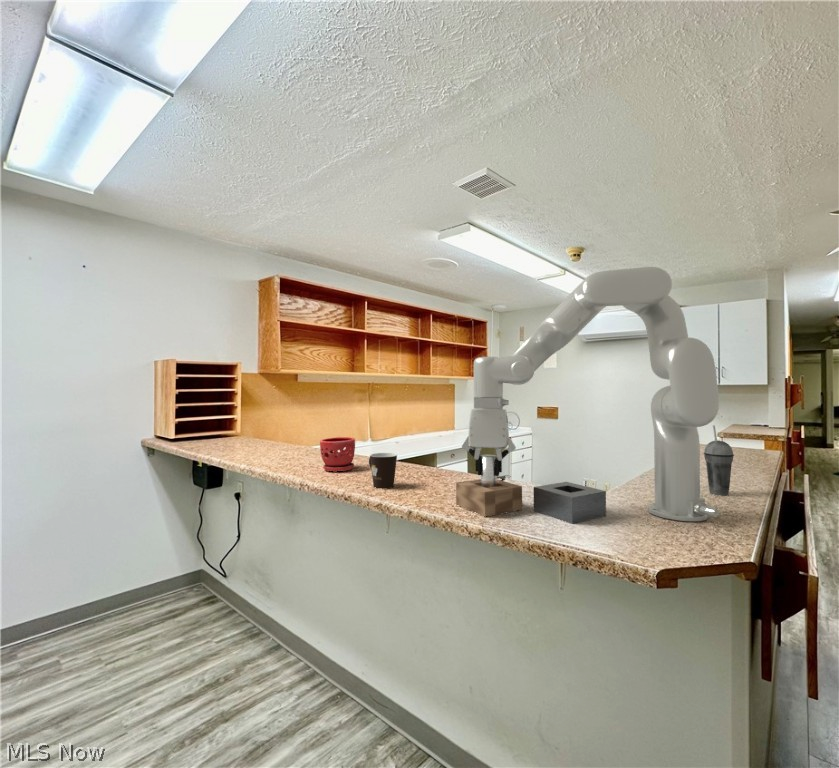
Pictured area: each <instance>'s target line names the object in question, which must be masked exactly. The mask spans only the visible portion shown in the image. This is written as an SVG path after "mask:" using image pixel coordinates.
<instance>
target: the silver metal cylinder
mask: <svg viewBox="0 0 839 768" xmlns="http://www.w3.org/2000/svg"><path fill="white" fill-rule="evenodd" d="M480 456H481V475H480V479H481V486H482V487H485V488H490V487H496V486H497V479H498V478H497V476H496V459H497V454H480Z"/></svg>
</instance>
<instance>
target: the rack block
mask: <svg viewBox="0 0 839 768" xmlns="http://www.w3.org/2000/svg"><path fill="white" fill-rule="evenodd" d="M455 485H456V486H455V489H456V490H455V491H456V492H455V493H456V495H455V496H456V497H455V501H456V506H457V505H459V506H461V507H460V508H462V507H463V508H462V509H464V508H466V509H468V510H467V511H469V510H471V511H473V512H472V513H474V512H476V513H478V514H480V515H479V516H481V515H482V516H481V517H483V516H485V517H484V518H487V517H486V516H489V517H493V516H492V515H494V516H497V514H499V515H502V514H501V513H504V514H507V513H506V512H509V513H512V512H511V511H514V512H518V511H517V510H519V511H523V485H520V484H519V485H518V484H515V483H511V482H509V481H504V480H503V481H501V480H499V478H497V486H496V487H490V488H485V487H482V486H481V478H480V479H474V480H473V479H472V480H466V481H465V480H464V481H458V482H455ZM459 506H458V507H459ZM466 509H465V510H466ZM471 511H470V512H471ZM476 513H475V514H476ZM478 514H477V515H478Z"/></svg>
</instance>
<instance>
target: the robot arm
mask: <svg viewBox="0 0 839 768" xmlns="http://www.w3.org/2000/svg"><path fill="white" fill-rule="evenodd" d="M672 287H673V280H672V277H671V276H670V274H669V273H668V272H667V271H666V270H665V269H663V268H661V267H657V266H642V267H633V268H621V269H610V270H601V271H597V272H593V273H591V274H589V275H587V276H586V277H585V278H584V280H582V281H581V282H580V283H579V284H578V285H577V286H576V287H575V288H574V289H573V290H572V291H571V293H569V294H568V296H566V298H565V299H564V300H562V301H561V302H560V304H558V306H557V307H555V308H554V309H553V310H552V312H551V313H549V314H548V316H547V317H545V319H543V321H542V322H541V323H540V325H538V327H537V328H536V329H535V331H534V332H533V333H532V334H531V335H530V337H529V338H528V339H526V341H525V342H524V343H523V344H522V345H521V346H520V347H519V348H518V349H517V350H516V351H515V352H514V353H513V354H512V355H509V356H501V357H498V356H479V357H476V358H475V359H474V361H473V409H472V408H471V410H470V415H469V424H468V425H469V426H468V436H467V437H466V439H465V440H464V441H463V444H462V445H461V447H462V449H463V450H465V451H466V452H468V453H469V454H470V455H471V456H472V457H473V458H474V460H475V472H477V476H481V455H482V449H495V453H496V476H500V473H502V472H503V464H502V463H503V459H504V458H505V457H506V456H507V455H508V454H510V453H512V452H514V451H515V450H516V445H515V444H514V442H513V440H512V438H511V437H510V436H509V431H510V430H509V420H508V413H507V410H506V409H504V407H505V406H509V403H510V402H509V399H505V398H504V385H503V384H511V385H514V386H515V385H517V386H518V385H519V386H520V385H525V384H526V383H527V384H528V382H530V381H531V380H532V378H533V377H534V375H535V372H536V371H537V370H538V369H539V368H540V367H541V366H542V365H543V364H544V363H545V362H546V361H547V360H548V359H549V358H551V356H553V355H554V354H556V353H557V352H558V351H560V350H561V349H563V348H565V347H566V346H567V345H568V344H569V343H570V342H571V341H572V340H574V339H575V337H576V336H577V335H578V334H579V333H580V332H581V331H582V330H584V329H585V327H586V326H588V324H589V323H591V322H592V320H593V319H595V317H596V316H597V315H598V314H599V313H600V312H601V311H603V310H604V309H606V307H621V306H622V307H623V308H624V309H626V310H628V311H630V312H632V313H634V314H636V315H637V316H638V317H640V319H641V320H642V322H643V323H644V326H645V331H646V334H647V342H648V351H649V362H650V366H651V370H652V373H654V375H656V377H658V378H660V379H664V380H667V381H669V385H667V386H663V387H662V388H660V389H659V390H658V391H656V392H655V394H654V395H653V396H652V398H651V402H650V414H651V419H652V426H653V436H654V437H653V440H654V449H653V451H654V454H653V456H654V502H651V503H649V504H648V505H647V511H648V513H649V514H651V515H654V516H656V517H660V518H663V519H667V520H673V521H678V522H679V521H681V522H703V521H706V520H708V519H709V516H710V517H714V518H717V517H718V515H719V510H718V507H717V506H713V505H707V503H706V499H705V498H703V497H701V467H700V466H701V465H700V464H701V462H700V461H701V459H700V458H701V457H700V456H701V455H700V454H701V453H700V452H701V450H700V449H701V448H700V435H699V430H698V427H699V428H700V427H704V426H707V425H709V424H711V423H712V422H713V421H714V420H715V418H716V417H717V415H718V413H719V409H720V395H719V387H718V379H717V373H716V372H717V371H716V363H715V359H714V356H713V353H712V351H711V349H710V348H709V346H708V345H707V344H706V343H705V342H703V341H702V340H700V339H698V338H695V337H689V334H688V328H687V323H686V318H685V315H684V312H683V310H682V308H681V306H680V305H679V304H678V302H677V301H676V300H675V299H674V298H673V297H671V296H670V293H671V290H672V289H673V288H672ZM474 448H475V449H474ZM502 449H504V450H502Z"/></svg>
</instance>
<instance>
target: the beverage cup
mask: <svg viewBox="0 0 839 768" xmlns="http://www.w3.org/2000/svg"><path fill="white" fill-rule="evenodd" d="M712 428H713V435H714V436H713V437H714V440H712V441H710V442H708V443H707V445H706V446H705V448H704V451H703V454H704V460H705V465H706V474H707V482H708V488H709V489H708V490H709V494H711V495H713V494H714V496H719V495H721V497H727V495H728V496H729V492H730V487H731V486H730V485H731V475H732V465H733V464H732V463H733V461H734V456H735V455H734V451H733V448H732V447H731V446H730V444H729V443H727V442H725V441H723V440H718V437H717V431H716V425H714V424H713V425H712Z"/></svg>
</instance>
